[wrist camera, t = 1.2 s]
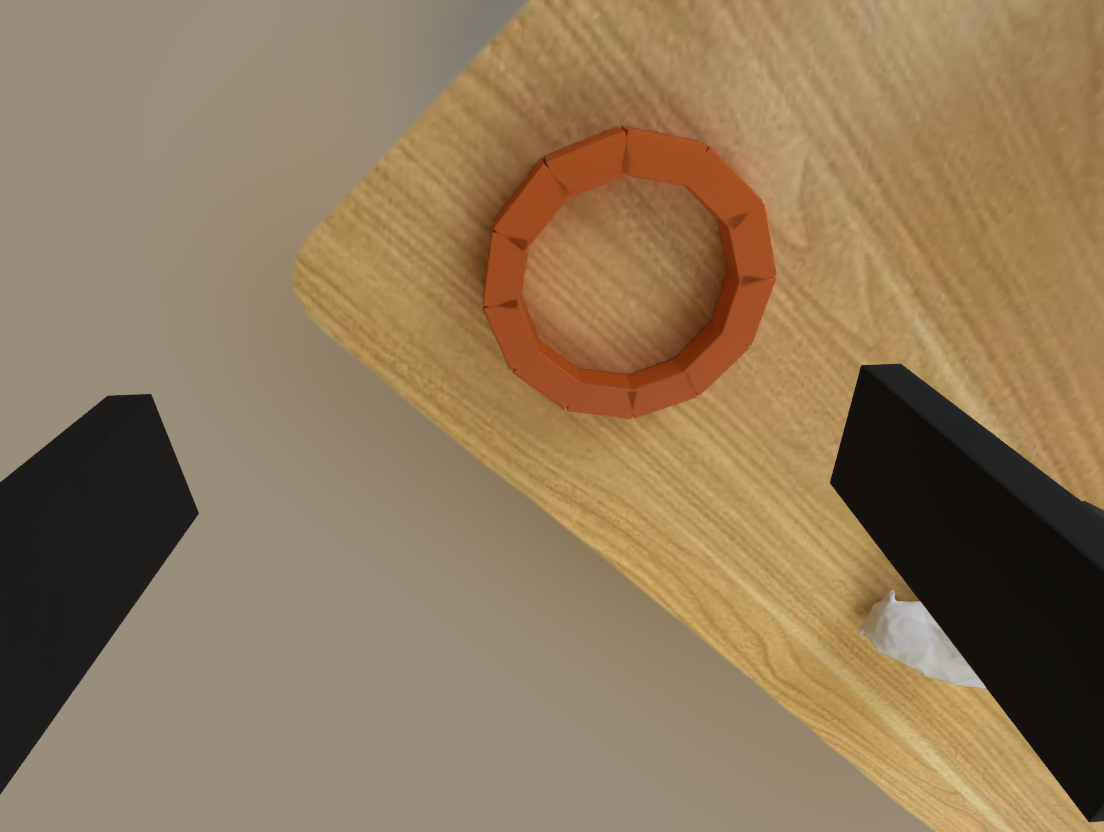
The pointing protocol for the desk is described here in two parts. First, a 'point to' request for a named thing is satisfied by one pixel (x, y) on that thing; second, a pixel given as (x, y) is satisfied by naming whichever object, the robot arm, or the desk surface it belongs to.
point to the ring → (591, 169)
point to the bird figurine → (916, 641)
